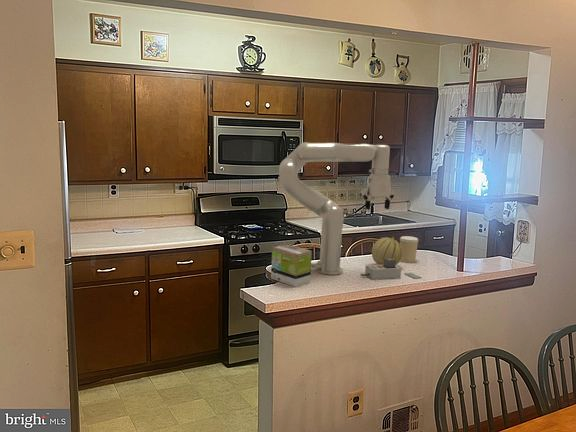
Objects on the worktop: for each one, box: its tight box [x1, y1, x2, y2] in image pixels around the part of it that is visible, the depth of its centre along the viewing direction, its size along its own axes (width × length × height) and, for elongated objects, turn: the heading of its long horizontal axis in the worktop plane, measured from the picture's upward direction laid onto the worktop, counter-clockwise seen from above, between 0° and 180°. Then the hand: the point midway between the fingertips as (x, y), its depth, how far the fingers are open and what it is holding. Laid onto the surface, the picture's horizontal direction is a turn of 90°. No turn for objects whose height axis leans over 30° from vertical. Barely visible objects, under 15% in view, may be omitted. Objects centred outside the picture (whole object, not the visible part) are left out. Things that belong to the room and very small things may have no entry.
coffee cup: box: [399, 235, 419, 263], centre depth 277 cm, size 9×9×12 cm
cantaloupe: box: [371, 236, 402, 266], centre depth 263 cm, size 15×15×15 cm
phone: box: [403, 272, 422, 280], centre depth 250 cm, size 4×8×1 cm, turn 24°
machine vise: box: [360, 264, 402, 281], centre depth 247 cm, size 18×8×5 cm, turn 107°
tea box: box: [270, 244, 313, 288], centre depth 234 cm, size 15×10×15 cm, turn 47°
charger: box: [383, 258, 396, 269], centre depth 248 cm, size 4×4×7 cm
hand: (377, 209), depth 249 cm, fingers open, 9 cm apart
